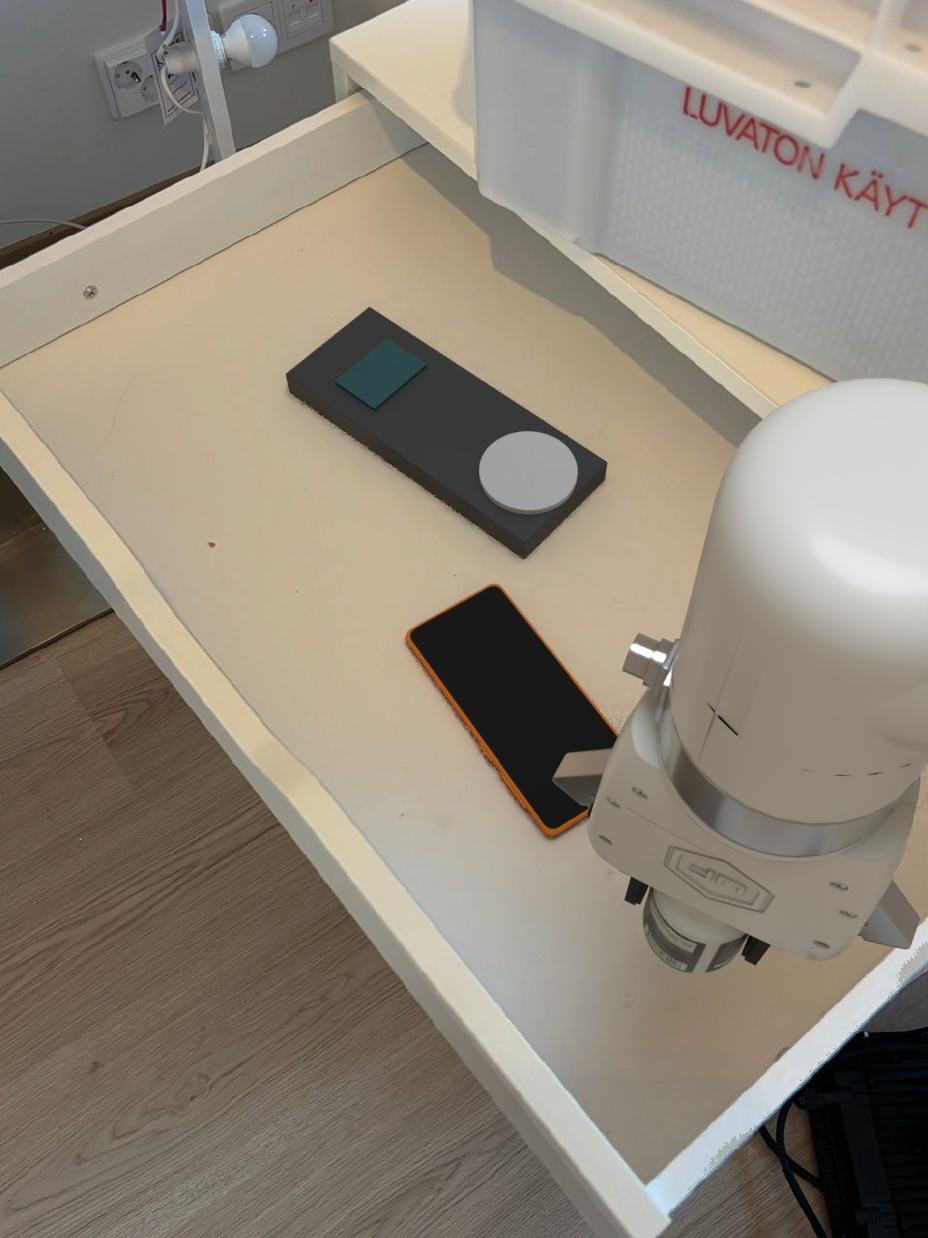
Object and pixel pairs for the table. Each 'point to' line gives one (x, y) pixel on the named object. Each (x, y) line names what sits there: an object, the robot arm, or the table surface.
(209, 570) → the table surface
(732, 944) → the pill bottle
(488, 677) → the smartphone
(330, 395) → the scale
